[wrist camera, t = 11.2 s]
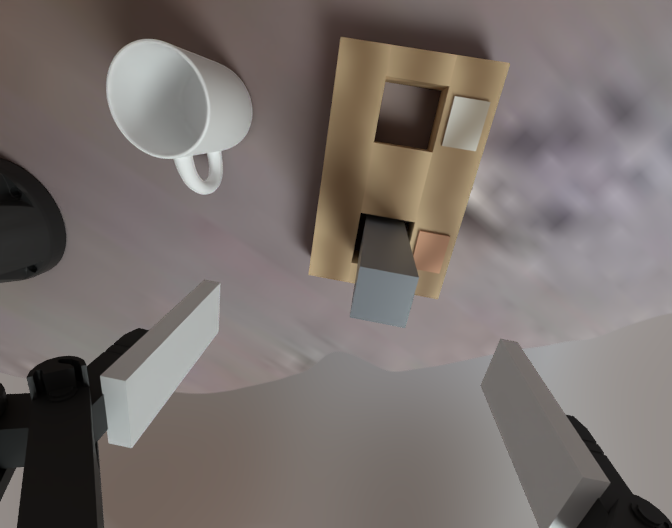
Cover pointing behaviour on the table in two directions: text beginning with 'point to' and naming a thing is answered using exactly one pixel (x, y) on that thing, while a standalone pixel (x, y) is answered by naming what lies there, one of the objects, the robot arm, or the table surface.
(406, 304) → the plug
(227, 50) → the table surface
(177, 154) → the mug
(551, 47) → the table surface
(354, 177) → the port block
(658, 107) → the table surface
